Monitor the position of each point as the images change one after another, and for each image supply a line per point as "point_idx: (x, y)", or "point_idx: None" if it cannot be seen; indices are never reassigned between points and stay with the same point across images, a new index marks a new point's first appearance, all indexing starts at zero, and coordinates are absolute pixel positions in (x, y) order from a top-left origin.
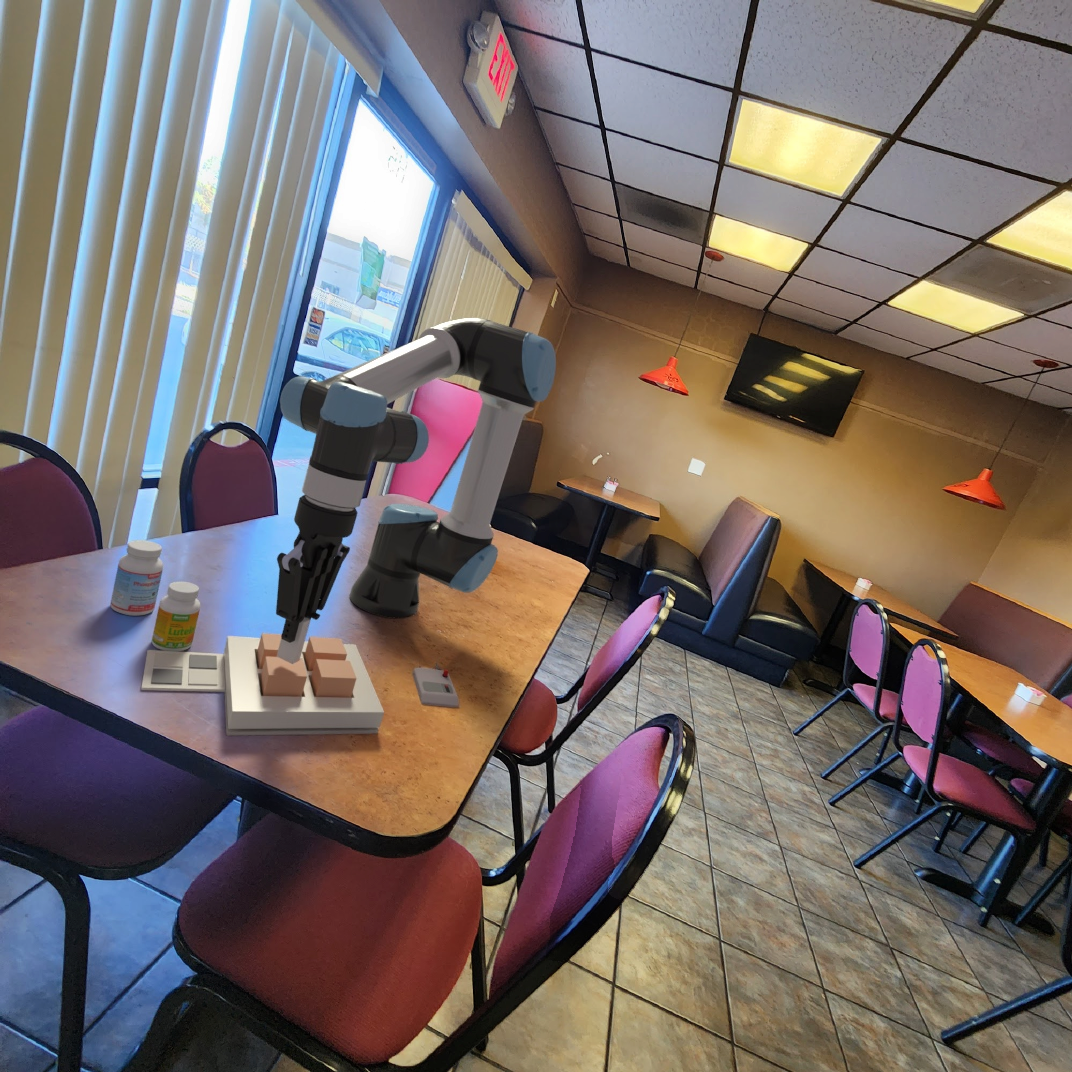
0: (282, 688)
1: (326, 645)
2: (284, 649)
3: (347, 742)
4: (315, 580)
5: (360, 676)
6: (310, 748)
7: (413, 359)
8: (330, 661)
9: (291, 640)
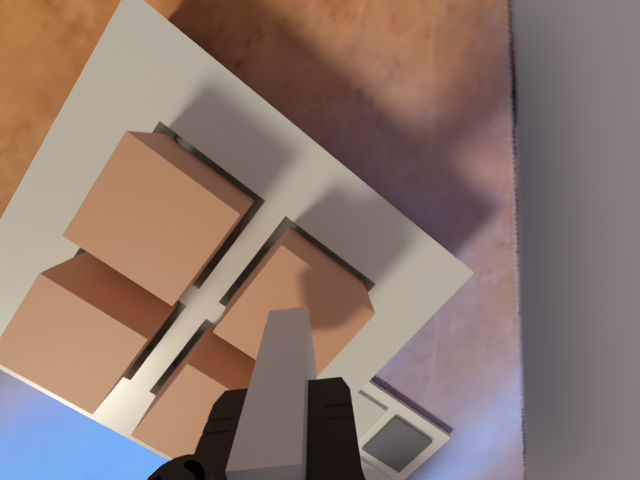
0: (332, 267)
1: (74, 350)
2: (313, 371)
3: (265, 54)
4: None
5: (52, 195)
6: (353, 102)
7: None
8: (136, 270)
9: (335, 384)
